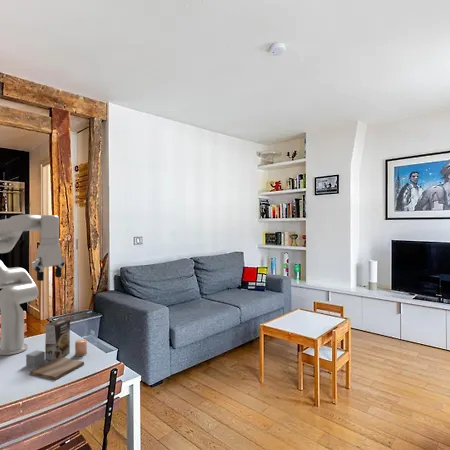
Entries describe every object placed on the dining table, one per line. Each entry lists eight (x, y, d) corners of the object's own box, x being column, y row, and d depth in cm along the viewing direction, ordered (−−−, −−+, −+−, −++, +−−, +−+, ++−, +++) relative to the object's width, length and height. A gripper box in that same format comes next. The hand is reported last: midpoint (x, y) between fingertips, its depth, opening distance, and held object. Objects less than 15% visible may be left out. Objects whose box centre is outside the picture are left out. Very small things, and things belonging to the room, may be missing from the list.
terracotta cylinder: (72, 355, 151) (72, 342, 151) (80, 351, 156) (81, 338, 156) (81, 356, 150) (81, 343, 150) (89, 352, 154) (89, 340, 154)
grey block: (26, 365, 140) (26, 354, 140) (36, 361, 144) (36, 350, 144) (34, 367, 138) (34, 356, 138) (44, 363, 143) (44, 351, 143)
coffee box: (56, 360, 145) (57, 325, 145) (44, 359, 146) (44, 324, 146) (70, 352, 154) (70, 319, 154) (58, 351, 155) (58, 318, 155)
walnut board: (29, 374, 132) (29, 371, 132) (59, 359, 146) (59, 356, 146) (55, 380, 127) (55, 377, 127) (83, 364, 141) (83, 361, 141)
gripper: (59, 240, 157) (58, 275, 157) (26, 242, 141) (26, 281, 141) (70, 241, 154) (70, 276, 154) (39, 243, 138) (38, 282, 138)
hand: (49, 278), depth 148 cm, fingers open, 9 cm apart
